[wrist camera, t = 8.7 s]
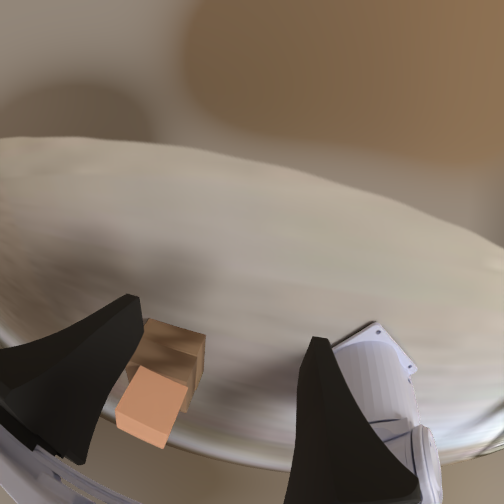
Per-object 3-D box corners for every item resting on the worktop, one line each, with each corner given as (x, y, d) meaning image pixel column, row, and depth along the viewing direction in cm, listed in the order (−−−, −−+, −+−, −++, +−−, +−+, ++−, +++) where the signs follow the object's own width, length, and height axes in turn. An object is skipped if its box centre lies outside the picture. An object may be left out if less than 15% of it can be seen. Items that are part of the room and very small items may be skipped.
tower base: (206, 333, 26) (197, 355, 23) (204, 369, 29) (196, 390, 26) (150, 316, 26) (137, 336, 24) (154, 354, 29) (144, 372, 27)
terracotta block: (188, 387, 21) (169, 435, 17) (180, 407, 23) (163, 449, 19) (140, 365, 21) (114, 409, 17) (138, 388, 23) (117, 427, 19)
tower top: (197, 356, 23) (186, 382, 21) (194, 390, 26) (186, 413, 24) (137, 336, 24) (123, 358, 21) (143, 372, 27) (131, 392, 24)
